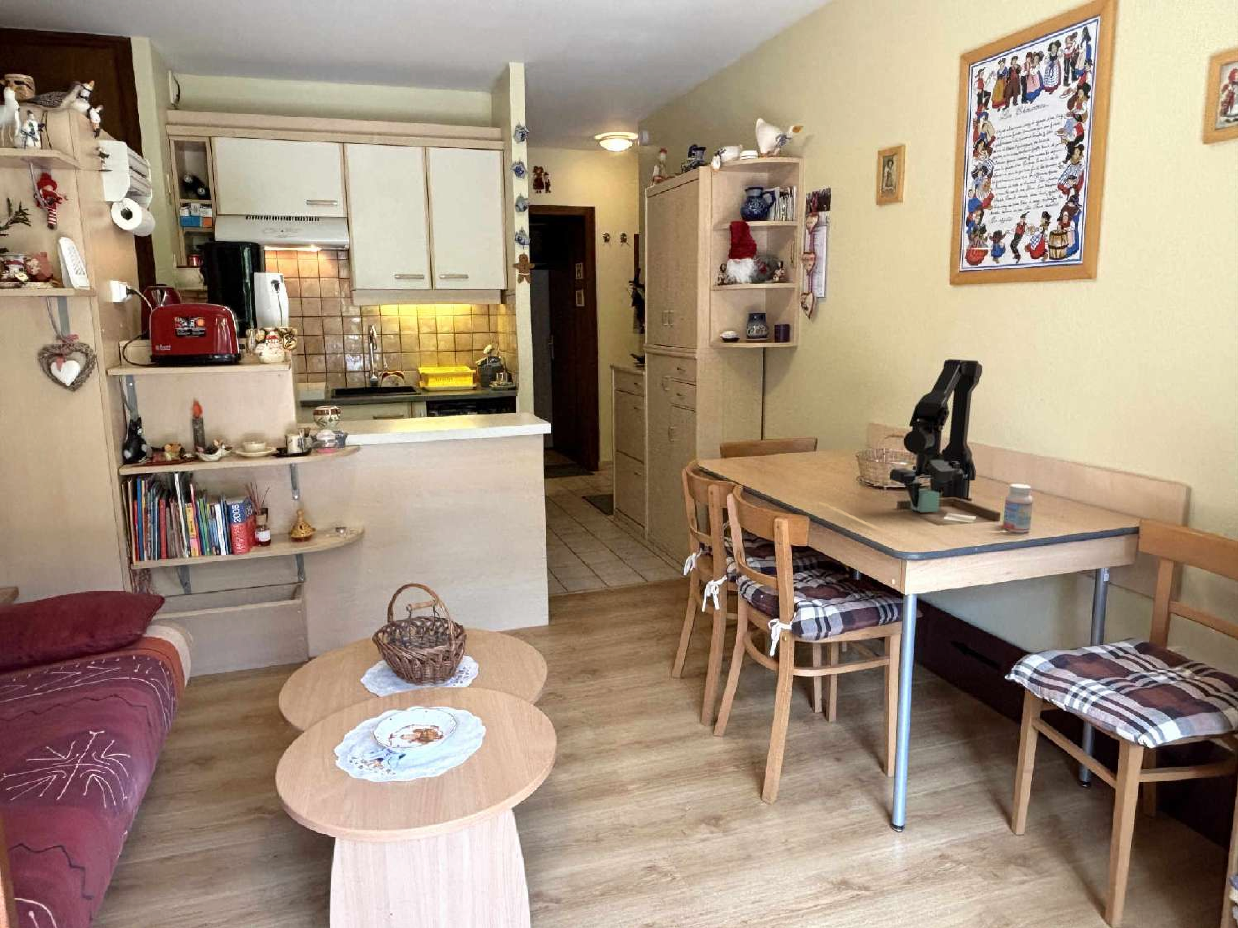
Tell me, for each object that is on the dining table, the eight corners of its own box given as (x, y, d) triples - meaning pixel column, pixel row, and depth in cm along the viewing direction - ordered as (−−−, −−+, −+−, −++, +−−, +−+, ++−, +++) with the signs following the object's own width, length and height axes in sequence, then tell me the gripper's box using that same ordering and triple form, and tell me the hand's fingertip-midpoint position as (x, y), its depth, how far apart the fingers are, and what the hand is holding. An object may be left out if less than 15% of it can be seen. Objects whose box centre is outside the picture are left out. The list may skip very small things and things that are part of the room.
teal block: (926, 506, 222) (928, 488, 221) (938, 511, 217) (939, 492, 216) (910, 507, 221) (911, 489, 220) (921, 512, 216) (922, 493, 215)
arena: (954, 507, 227) (955, 497, 227) (999, 524, 210) (1000, 512, 210) (896, 511, 223) (897, 500, 222) (937, 528, 206) (938, 516, 205)
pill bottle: (997, 527, 207) (1001, 483, 205) (1021, 526, 208) (1025, 483, 206) (1011, 533, 201) (1015, 488, 199) (1035, 533, 202) (1039, 488, 200)
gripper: (915, 455, 206) (911, 515, 209) (979, 452, 211) (974, 511, 213) (890, 447, 217) (886, 505, 219) (952, 445, 221) (947, 501, 224)
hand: (924, 506), depth 219 cm, fingers closed on teal block, 5 cm apart
